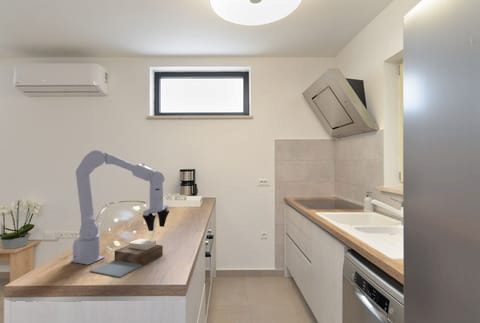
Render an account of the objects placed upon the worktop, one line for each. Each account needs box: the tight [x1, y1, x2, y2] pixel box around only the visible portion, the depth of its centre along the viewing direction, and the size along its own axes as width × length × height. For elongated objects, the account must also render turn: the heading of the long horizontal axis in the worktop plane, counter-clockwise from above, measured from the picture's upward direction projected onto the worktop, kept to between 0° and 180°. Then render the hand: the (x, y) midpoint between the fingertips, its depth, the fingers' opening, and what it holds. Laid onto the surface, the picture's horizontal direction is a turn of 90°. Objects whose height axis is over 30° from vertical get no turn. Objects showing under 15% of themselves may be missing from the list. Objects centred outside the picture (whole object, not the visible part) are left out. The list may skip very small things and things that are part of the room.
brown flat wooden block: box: [113, 244, 164, 267], centre depth 108 cm, size 14×12×4 cm
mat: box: [89, 259, 143, 278], centre depth 97 cm, size 14×11×1 cm
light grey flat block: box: [128, 238, 157, 250], centre depth 110 cm, size 9×6×2 cm, turn 69°
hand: (156, 228), depth 118 cm, fingers open, 7 cm apart
